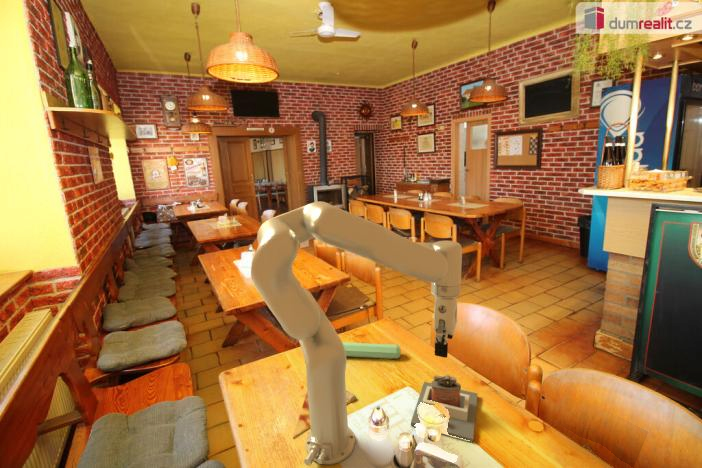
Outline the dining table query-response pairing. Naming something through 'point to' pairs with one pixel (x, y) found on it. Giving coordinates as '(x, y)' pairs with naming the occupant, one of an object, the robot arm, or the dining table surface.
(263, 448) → the dining table surface
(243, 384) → the dining table surface
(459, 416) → the holder
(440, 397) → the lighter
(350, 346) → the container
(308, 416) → the pizza slice
